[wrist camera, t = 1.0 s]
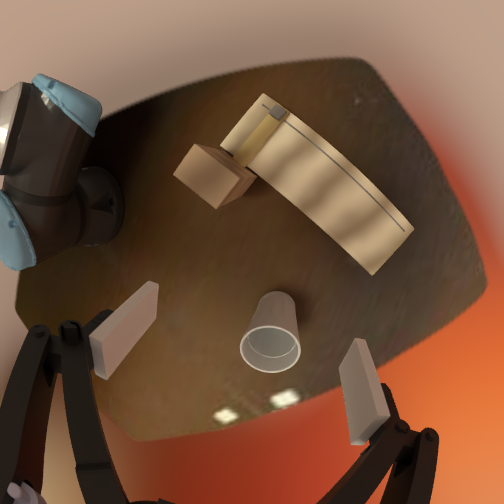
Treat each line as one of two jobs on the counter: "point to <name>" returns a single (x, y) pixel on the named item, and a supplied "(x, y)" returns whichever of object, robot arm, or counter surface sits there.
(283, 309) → the cup
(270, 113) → the gauge
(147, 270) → the counter surface
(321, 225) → the board
